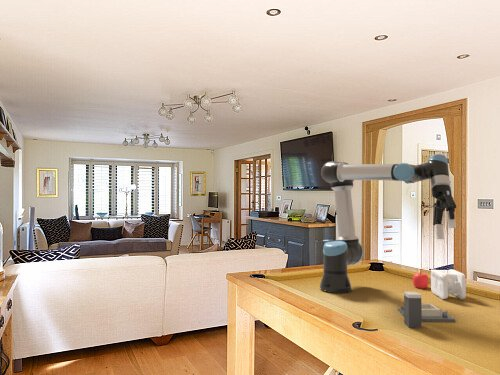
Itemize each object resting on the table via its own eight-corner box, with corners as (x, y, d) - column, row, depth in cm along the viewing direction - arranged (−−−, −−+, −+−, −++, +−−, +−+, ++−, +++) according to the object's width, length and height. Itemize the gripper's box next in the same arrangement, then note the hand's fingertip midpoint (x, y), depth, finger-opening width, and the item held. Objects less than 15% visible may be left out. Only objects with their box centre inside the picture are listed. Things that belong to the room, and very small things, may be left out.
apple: (426, 285, 197) (426, 270, 197) (432, 289, 189) (431, 273, 189) (410, 285, 198) (410, 270, 198) (415, 289, 190) (415, 273, 190)
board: (410, 321, 141) (410, 311, 141) (397, 310, 155) (397, 301, 155) (455, 321, 140) (454, 312, 140) (437, 310, 154) (437, 301, 154)
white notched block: (467, 301, 167) (467, 275, 168) (442, 301, 168) (442, 274, 169) (452, 293, 182) (452, 268, 183) (429, 292, 183) (429, 268, 184)
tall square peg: (409, 327, 134) (408, 294, 134) (404, 323, 138) (404, 291, 138) (421, 328, 134) (421, 294, 134) (416, 323, 138) (416, 291, 138)
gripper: (461, 174, 155) (468, 223, 146) (440, 199, 177) (444, 243, 168) (441, 173, 156) (447, 221, 147) (423, 198, 178) (426, 242, 169)
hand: (446, 233), depth 157 cm, fingers open, 13 cm apart
